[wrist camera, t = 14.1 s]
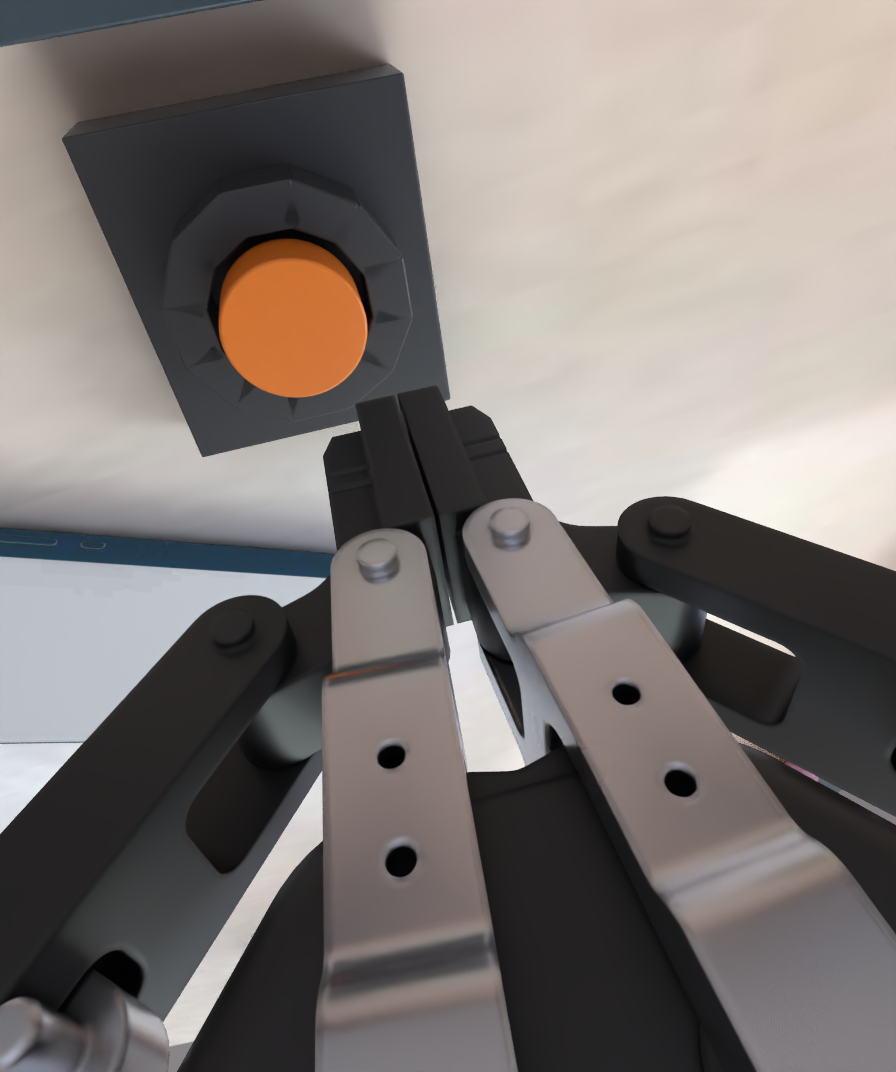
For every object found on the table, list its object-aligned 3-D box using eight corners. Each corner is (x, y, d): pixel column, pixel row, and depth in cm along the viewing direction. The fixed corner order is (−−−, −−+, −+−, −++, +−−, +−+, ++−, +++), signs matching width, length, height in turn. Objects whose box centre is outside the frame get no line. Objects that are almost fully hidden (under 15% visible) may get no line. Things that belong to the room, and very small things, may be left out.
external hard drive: (-166, 709, 30) (-187, 748, 29) (-237, 496, 24) (-269, 533, 22) (360, 709, 39) (365, 739, 37) (414, 551, 32) (422, 580, 31)
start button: (198, 254, 19) (195, 276, 18) (342, 224, 19) (350, 243, 18) (245, 384, 22) (246, 412, 20) (371, 356, 22) (380, 381, 21)
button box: (76, 122, 19) (45, 152, 16) (390, 63, 20) (416, 81, 17) (204, 425, 26) (199, 487, 23) (437, 372, 27) (462, 425, 24)
